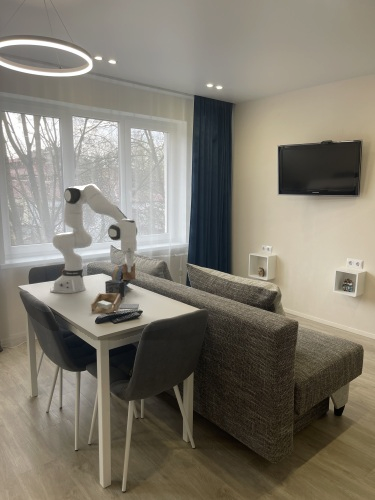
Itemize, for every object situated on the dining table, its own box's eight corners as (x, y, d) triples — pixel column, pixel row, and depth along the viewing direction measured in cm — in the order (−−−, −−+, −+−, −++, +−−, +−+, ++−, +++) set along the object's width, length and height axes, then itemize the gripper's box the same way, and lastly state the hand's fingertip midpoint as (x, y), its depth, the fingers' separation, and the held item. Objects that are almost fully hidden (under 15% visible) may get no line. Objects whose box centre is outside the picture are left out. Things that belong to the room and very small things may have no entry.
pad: (119, 308, 210) (119, 308, 210) (121, 304, 218) (121, 303, 218) (137, 308, 210) (137, 308, 210) (138, 304, 218) (138, 303, 218)
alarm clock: (118, 293, 240) (118, 267, 238) (108, 291, 246) (108, 265, 244) (134, 289, 252) (134, 264, 249) (124, 287, 258) (124, 262, 255)
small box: (125, 296, 233) (125, 280, 232) (120, 299, 227) (119, 283, 226) (110, 295, 237) (110, 279, 235) (105, 297, 231) (104, 281, 229)
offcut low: (96, 312, 205) (95, 307, 204) (98, 309, 209) (98, 305, 208) (111, 312, 204) (111, 308, 203) (113, 310, 208) (113, 306, 207)
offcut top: (97, 306, 207) (97, 302, 206) (103, 304, 210) (103, 300, 209) (106, 309, 202) (106, 305, 201) (112, 307, 205) (112, 303, 204)
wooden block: (122, 279, 209) (122, 264, 208) (122, 278, 212) (122, 263, 211) (135, 279, 210) (135, 264, 209) (135, 278, 213) (135, 263, 212)
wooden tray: (91, 312, 202) (91, 303, 201) (98, 301, 223) (98, 293, 222) (115, 312, 203) (115, 303, 202) (120, 301, 223) (120, 293, 223)
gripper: (135, 250, 199) (136, 275, 201) (133, 244, 219) (133, 267, 221) (124, 250, 198) (124, 275, 200) (122, 245, 218) (122, 267, 220)
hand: (129, 271), depth 211 cm, fingers closed on wooden block, 3 cm apart
